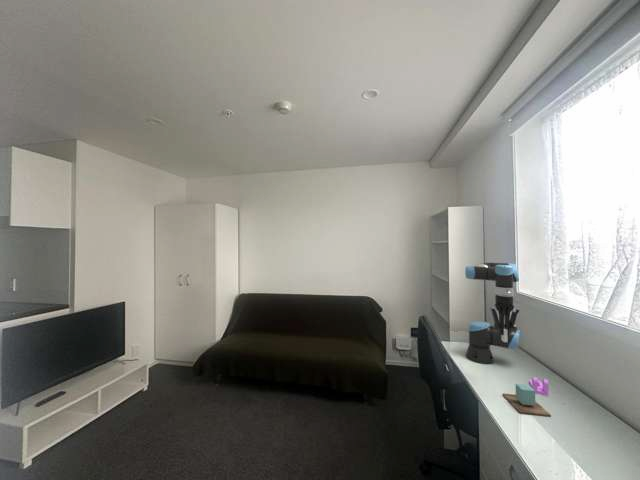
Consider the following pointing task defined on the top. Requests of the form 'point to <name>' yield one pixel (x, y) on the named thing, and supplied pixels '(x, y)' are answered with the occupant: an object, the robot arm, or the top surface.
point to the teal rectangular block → (525, 394)
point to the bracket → (541, 388)
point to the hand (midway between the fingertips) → (504, 341)
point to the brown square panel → (526, 407)
